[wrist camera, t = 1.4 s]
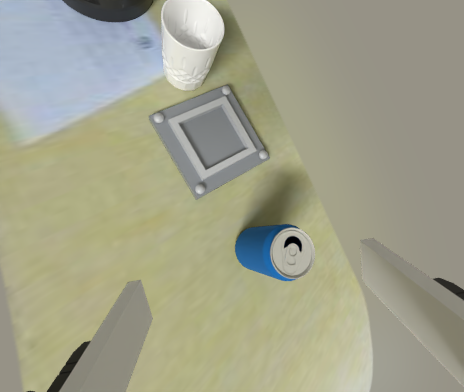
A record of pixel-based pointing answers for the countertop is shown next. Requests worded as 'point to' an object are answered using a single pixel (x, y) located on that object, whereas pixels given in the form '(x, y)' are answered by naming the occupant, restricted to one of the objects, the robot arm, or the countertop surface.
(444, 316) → the robot arm
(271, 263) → the beverage can
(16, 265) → the countertop surface
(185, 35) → the white cup
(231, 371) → the countertop surface
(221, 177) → the socket plate
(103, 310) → the countertop surface
